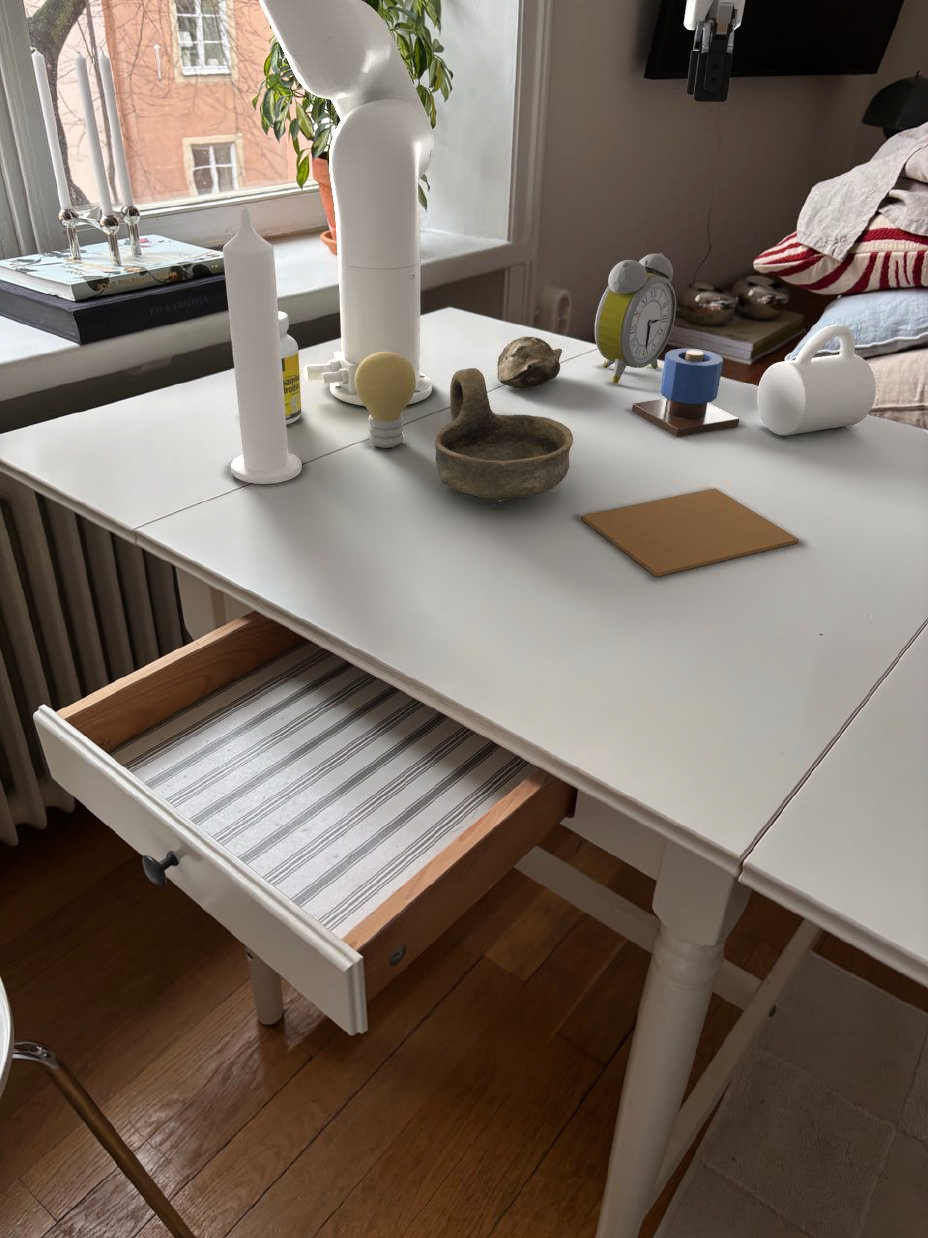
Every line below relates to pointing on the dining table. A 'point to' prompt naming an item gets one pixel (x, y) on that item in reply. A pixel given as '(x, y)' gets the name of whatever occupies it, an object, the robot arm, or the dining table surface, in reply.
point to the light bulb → (385, 395)
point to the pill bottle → (289, 371)
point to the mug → (817, 387)
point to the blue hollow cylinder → (691, 377)
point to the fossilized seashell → (528, 363)
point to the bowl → (498, 446)
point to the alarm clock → (636, 313)
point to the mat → (687, 531)
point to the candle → (257, 358)
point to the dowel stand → (685, 412)
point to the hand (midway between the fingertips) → (705, 97)
